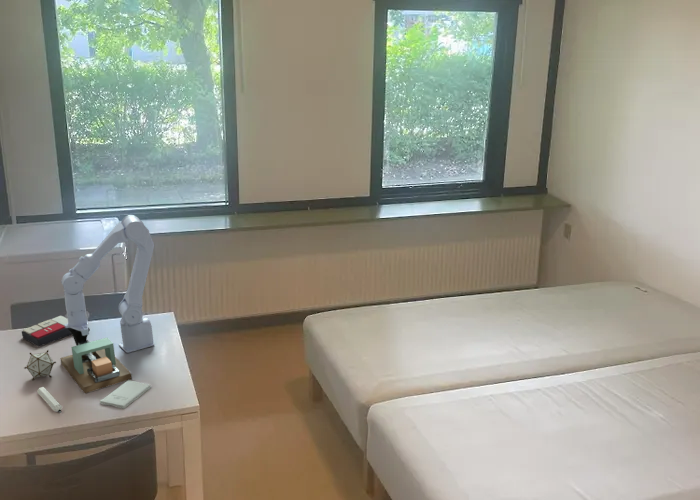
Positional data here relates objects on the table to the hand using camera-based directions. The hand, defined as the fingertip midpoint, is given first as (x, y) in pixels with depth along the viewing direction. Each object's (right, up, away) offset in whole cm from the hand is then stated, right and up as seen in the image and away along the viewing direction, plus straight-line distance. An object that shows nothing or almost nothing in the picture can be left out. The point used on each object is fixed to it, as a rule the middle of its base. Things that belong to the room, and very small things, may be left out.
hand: (81, 348), depth 218 cm
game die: (-7, -7, -12) cm, 16 cm away
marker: (+2, -12, -27) cm, 29 cm away
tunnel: (+8, -4, -10) cm, 13 cm away
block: (+12, -6, -15) cm, 21 cm away
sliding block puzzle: (-17, +2, +17) cm, 24 cm away
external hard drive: (+22, -11, -22) cm, 33 cm away
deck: (+8, -6, -9) cm, 13 cm away
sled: (+8, -4, -10) cm, 14 cm away
